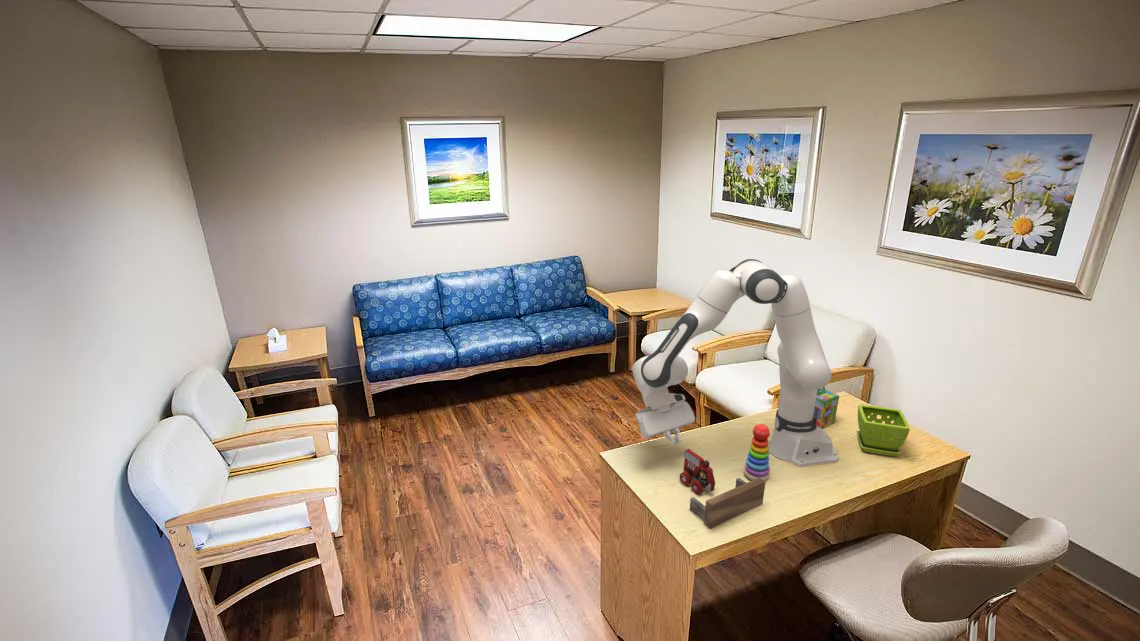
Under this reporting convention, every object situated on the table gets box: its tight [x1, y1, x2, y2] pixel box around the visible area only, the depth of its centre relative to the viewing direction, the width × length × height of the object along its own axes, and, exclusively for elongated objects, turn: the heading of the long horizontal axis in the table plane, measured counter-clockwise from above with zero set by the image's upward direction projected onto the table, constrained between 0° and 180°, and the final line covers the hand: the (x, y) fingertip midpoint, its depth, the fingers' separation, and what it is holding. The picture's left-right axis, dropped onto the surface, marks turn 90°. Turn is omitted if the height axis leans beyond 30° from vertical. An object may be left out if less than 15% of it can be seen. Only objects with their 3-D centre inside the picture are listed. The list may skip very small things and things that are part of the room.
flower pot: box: [856, 403, 911, 457], centre depth 190 cm, size 14×14×13 cm
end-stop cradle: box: [688, 477, 766, 530], centre depth 161 cm, size 9×21×8 cm, turn 120°
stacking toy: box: [743, 423, 771, 482], centre depth 174 cm, size 8×8×19 cm
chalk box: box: [813, 386, 840, 429], centre depth 207 cm, size 9×9×15 cm
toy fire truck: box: [679, 448, 716, 495], centre depth 171 cm, size 7×12×10 cm, turn 32°
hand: (676, 443), depth 178 cm, fingers closed
